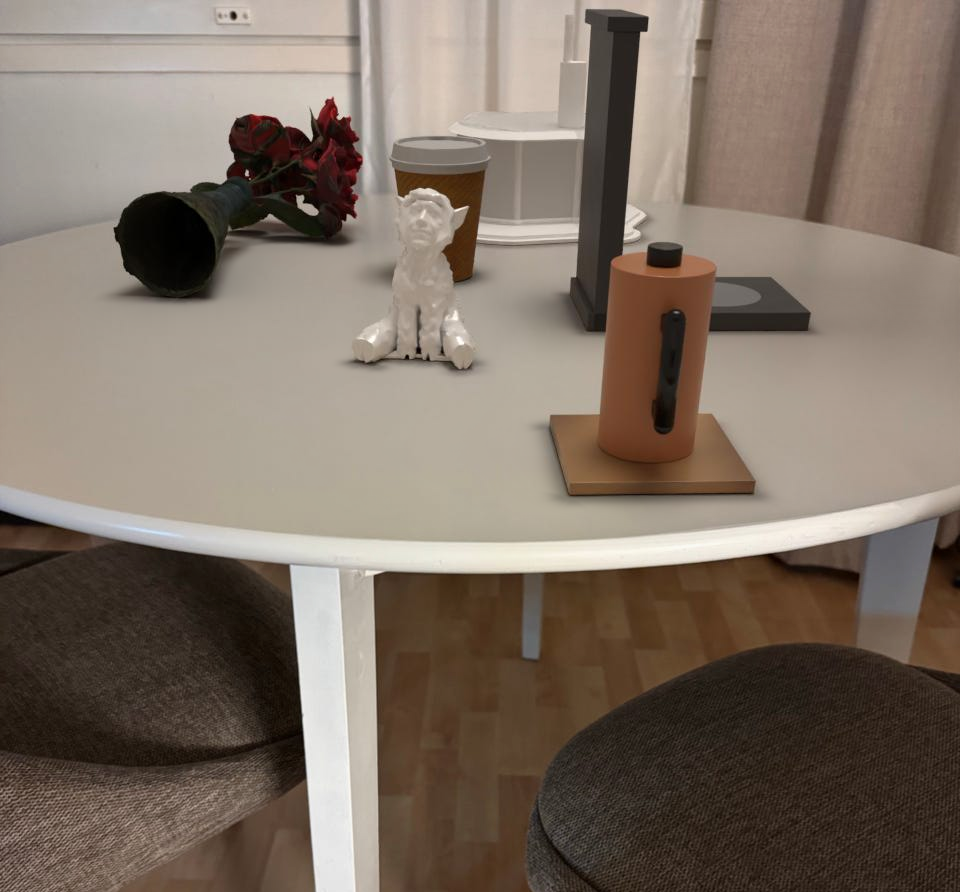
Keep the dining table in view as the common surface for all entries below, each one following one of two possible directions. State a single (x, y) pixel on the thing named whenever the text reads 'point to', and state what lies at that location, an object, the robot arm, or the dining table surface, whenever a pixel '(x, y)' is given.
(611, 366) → the thermos flask
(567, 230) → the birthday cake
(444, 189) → the disposable coffee cup
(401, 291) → the white creature statuette
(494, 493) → the dining table surface
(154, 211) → the red rose bouquet
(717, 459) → the trivet
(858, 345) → the dining table surface
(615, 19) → the coffee maker
